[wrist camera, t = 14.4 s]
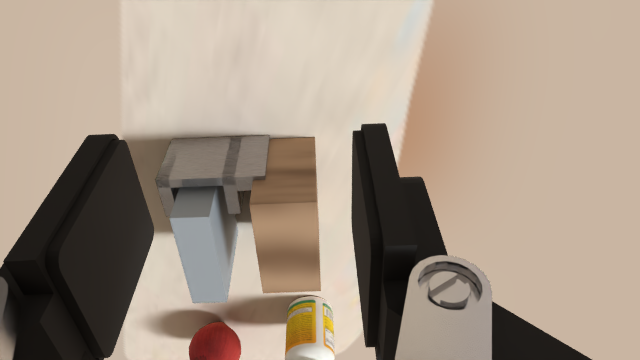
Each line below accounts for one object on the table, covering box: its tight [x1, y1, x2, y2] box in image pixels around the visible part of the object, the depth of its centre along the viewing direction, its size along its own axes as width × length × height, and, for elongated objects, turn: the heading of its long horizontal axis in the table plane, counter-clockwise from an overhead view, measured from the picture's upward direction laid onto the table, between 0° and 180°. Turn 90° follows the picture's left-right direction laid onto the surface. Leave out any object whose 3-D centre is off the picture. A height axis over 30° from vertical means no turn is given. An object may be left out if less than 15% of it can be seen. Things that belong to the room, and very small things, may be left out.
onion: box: [189, 321, 241, 360], centre depth 56 cm, size 6×6×8 cm
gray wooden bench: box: [156, 135, 270, 216], centre depth 42 cm, size 4×9×6 cm, turn 92°
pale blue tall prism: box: [169, 186, 238, 303], centre depth 43 cm, size 10×4×9 cm, turn 1°
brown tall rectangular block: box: [249, 137, 321, 293], centre depth 43 cm, size 10×5×9 cm, turn 2°
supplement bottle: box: [285, 296, 335, 360], centre depth 54 cm, size 5×5×10 cm
